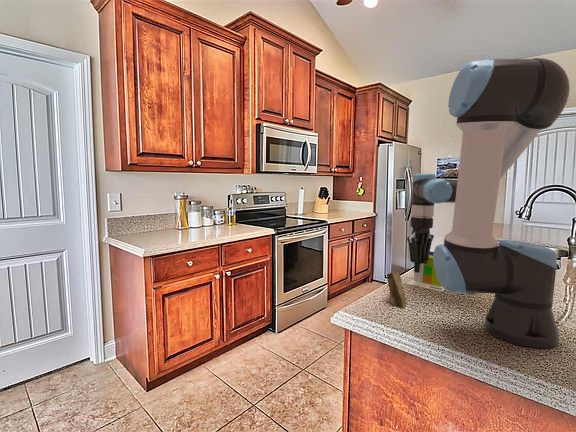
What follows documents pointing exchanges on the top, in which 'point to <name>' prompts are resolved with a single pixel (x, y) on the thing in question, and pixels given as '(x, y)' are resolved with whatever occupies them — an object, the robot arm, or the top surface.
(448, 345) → the top surface
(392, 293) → the rock
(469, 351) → the top surface
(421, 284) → the letter
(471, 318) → the top surface
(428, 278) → the puzzle toy
